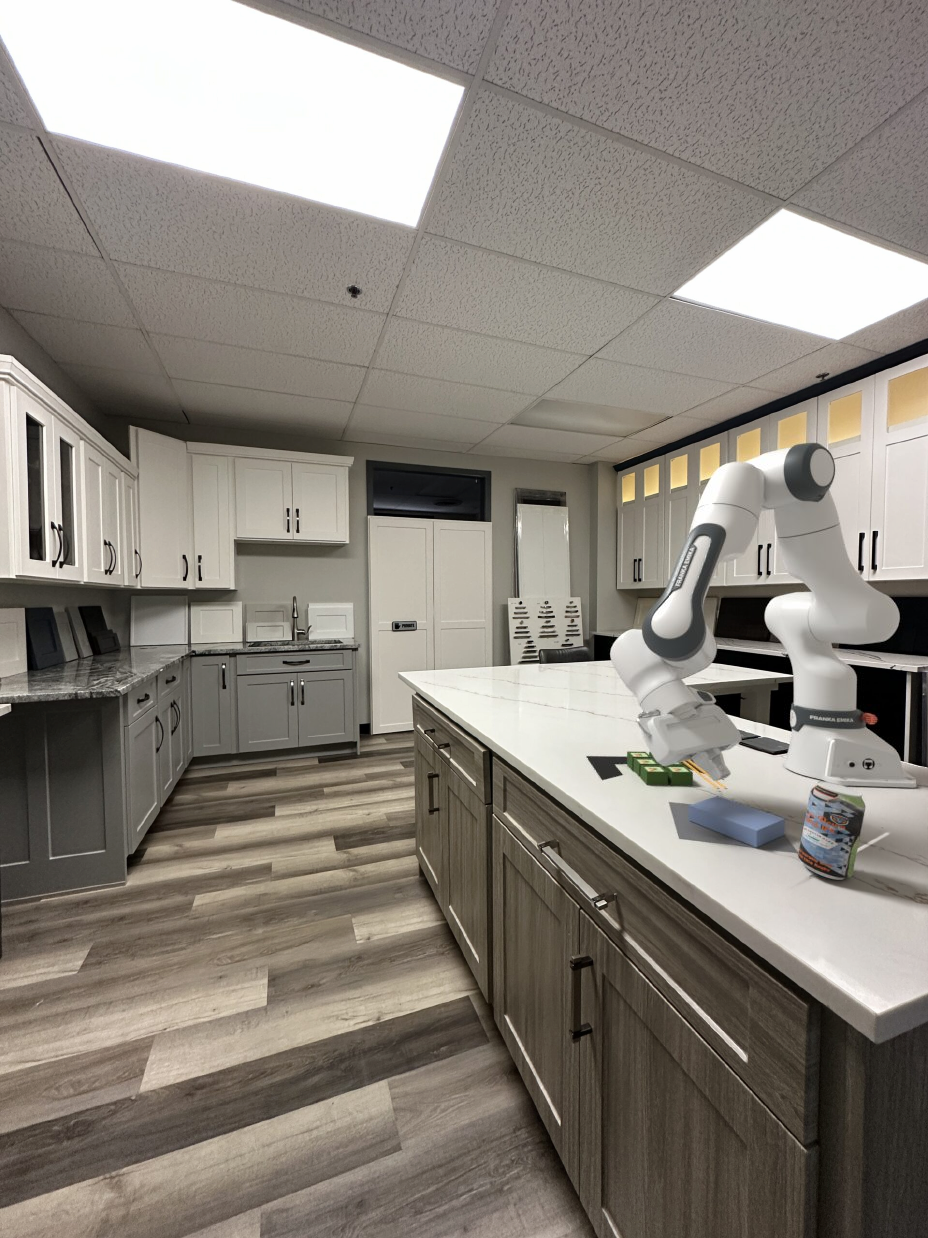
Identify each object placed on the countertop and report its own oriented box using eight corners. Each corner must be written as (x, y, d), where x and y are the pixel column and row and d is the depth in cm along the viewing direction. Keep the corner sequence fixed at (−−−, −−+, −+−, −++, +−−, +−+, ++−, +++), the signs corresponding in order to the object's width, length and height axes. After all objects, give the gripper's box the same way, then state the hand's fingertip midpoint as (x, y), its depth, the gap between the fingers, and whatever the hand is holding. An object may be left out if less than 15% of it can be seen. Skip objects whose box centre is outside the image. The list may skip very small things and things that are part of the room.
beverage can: (787, 862, 71) (789, 777, 71) (836, 860, 72) (838, 776, 72) (822, 887, 65) (824, 794, 65) (875, 885, 66) (878, 793, 65)
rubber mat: (768, 814, 88) (768, 812, 88) (798, 855, 73) (798, 853, 73) (668, 804, 92) (668, 802, 92) (678, 841, 78) (679, 838, 78)
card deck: (689, 805, 84) (756, 830, 75) (717, 795, 88) (785, 818, 79) (688, 821, 84) (756, 848, 75) (717, 811, 88) (784, 835, 79)
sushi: (749, 802, 95) (749, 782, 95) (613, 800, 96) (613, 781, 96) (693, 761, 120) (693, 745, 120) (586, 759, 121) (586, 744, 121)
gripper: (643, 703, 84) (697, 780, 76) (716, 692, 94) (770, 758, 86) (621, 725, 88) (670, 799, 80) (694, 712, 98) (743, 776, 90)
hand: (723, 778), depth 83 cm, fingers closed
